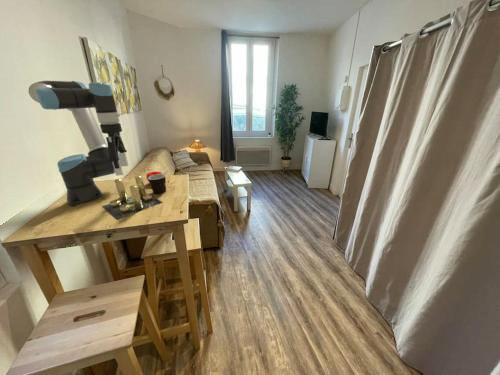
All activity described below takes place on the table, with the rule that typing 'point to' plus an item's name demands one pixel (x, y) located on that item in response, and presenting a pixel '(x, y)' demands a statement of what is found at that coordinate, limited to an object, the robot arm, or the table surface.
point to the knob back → (121, 193)
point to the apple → (152, 174)
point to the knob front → (136, 200)
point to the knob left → (142, 189)
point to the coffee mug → (158, 183)
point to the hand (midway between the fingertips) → (122, 170)
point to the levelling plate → (119, 215)
